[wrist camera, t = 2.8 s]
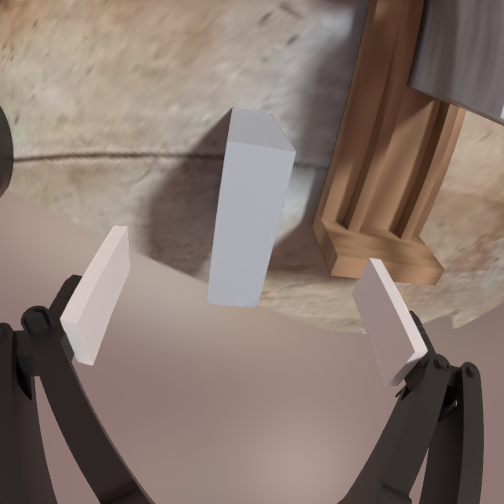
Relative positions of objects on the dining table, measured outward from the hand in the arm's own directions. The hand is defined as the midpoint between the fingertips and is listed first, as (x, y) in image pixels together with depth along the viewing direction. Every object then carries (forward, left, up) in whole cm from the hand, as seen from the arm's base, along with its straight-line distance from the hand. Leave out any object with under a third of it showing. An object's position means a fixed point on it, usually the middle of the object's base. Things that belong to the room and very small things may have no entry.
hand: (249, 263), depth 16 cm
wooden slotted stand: (+14, +10, -14) cm, 22 cm away
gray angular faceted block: (0, 0, -14) cm, 14 cm away
